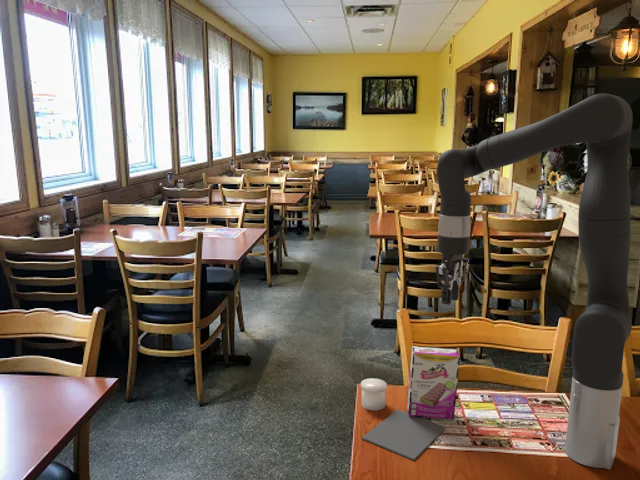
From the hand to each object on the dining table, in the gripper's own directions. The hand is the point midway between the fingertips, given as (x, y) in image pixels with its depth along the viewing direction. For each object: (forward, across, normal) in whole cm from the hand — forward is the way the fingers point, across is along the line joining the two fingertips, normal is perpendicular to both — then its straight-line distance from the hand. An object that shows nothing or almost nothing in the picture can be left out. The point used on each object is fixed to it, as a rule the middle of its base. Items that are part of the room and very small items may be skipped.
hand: (450, 301), depth 128 cm
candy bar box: (+27, -8, 0) cm, 28 cm away
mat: (+27, -19, +1) cm, 33 cm away
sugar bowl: (+27, -12, +14) cm, 33 cm away
